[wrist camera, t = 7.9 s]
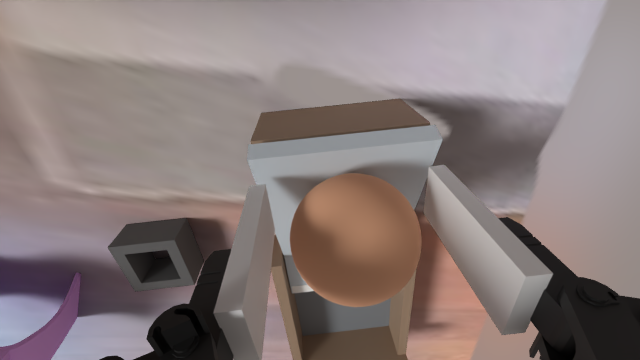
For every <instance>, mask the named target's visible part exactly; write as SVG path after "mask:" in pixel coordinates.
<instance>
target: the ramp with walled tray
mask: <svg viewBox="0 0 640 360" xmlns="http://www.w3.org/2000/svg"><path fill="white" fill-rule="evenodd" d="M442 140H443V138H442V137H441V135H440V133H439V131H438V129H437V127H436V125H430V122H429V121H428V120H426V119H425V118H424V117H423V116H421V115H420V114H419V113H417V112H416V111H415V110H414V109H412V108H411V107H410V106H409V105H407V104H406V103H405V102H404V101H402V100H401V99H391V100H382V101H372V102H363V103H353V104H344V105H334V106H324V107H314V108H305V109H295V110H286V111H276V112H266V113H261V115H260V118H259V120H258V123H257V126H256V128H255V131H254V134H253V136H252V139H251V144H249V145H248V156H247V161H248V164H249V166H250V169H251V172H252V174H253V177H254V179H255V182H256V185H263V184H266V189H267V193H268V198H269V203H270V207H271V212H272V217H273V222H274V226H275V234H276V235H274V245H273V254H272V264H271V272H272V276H273V280H274V284H275V288H276V292H277V296H278V300H279V304H280V308H281V312H282V316H283V321H284V325H285V329H286V333H287V337H288V341H289V345H290V349H291V353H292V357H293V360H408V359H407V356H406V348H407V340H408V332H409V324H410V316H411V308H412V300H413V292H414V284H415V276H416V270H415V272H414V274H413V276H412V278H411V279H410V280H409V282H408V283H407V284H406V285H405V287H404V288H403V289H402V290H401V291H400V292H398V293H397V294H396V295H394V296H393V297H391V298H390V299H388V300H386V301H384V302H381V303H379V304H376V305H371V306H365V307H349V306H343V305H339V304H336V303H333V302H331V301H329V300H327V299H325V298H323V297H322V296H320V295H319V294H317V293H316V292H315V291H314V290H313V289H312V288H311V287H309V286H308V285H307V283H306V282H305V281H304V280H303V278H302V277H301V275H300V273H299V272H298V270H297V268H296V266H295V263H294V261H293V257H292V253H291V247H290V230H291V224H292V220H293V217H294V214H295V212H296V209H297V208H298V206H299V204H300V202H301V201H302V200H303V198H304V197H305V196H306V195H307V193H308V192H309V191H311V190H312V189H313V188H314V187H315V186H316V185H318V184H319V183H321V182H323V181H325V180H327V179H329V178H331V177H334V176H337V175H341V174H349V173H359V174H366V175H371V176H374V177H377V178H380V179H382V180H384V181H386V182H388V183H389V184H391V185H392V186H394V187H395V188H396V189H398V190H399V191H400V192H401V193H402V194H403V195H404V196H405V198H406V199H407V200H408V201H409V203H410V204H411V206H412V208H413V209H414V210H415V207H416V205H417V202H418V200H419V197H420V195H421V192H422V190H423V187H424V185H425V182H426V180H427V178H428V169H429V166H432V165H433V163H434V160H435V158H436V155H437V153H438V150H439V148H440V145H441V143H442Z"/></svg>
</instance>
